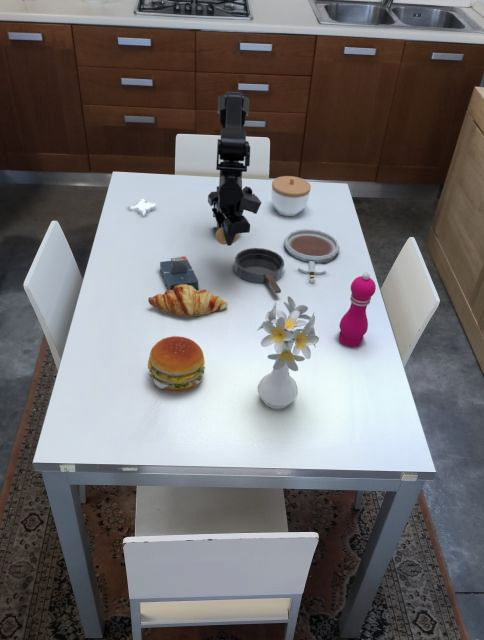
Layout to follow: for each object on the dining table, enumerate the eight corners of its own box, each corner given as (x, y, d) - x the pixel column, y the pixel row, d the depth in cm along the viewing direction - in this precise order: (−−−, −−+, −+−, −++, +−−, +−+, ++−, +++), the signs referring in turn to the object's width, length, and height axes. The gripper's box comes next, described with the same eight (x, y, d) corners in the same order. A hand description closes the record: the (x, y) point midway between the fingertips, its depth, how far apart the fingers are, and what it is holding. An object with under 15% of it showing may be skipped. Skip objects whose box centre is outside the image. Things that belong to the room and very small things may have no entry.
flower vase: (255, 431, 143) (267, 342, 125) (246, 376, 155) (255, 288, 137) (312, 430, 144) (332, 341, 126) (299, 375, 157) (315, 288, 138)
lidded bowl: (263, 214, 211) (267, 181, 203) (276, 198, 220) (280, 166, 212) (299, 223, 209) (304, 191, 201) (311, 207, 217) (316, 175, 209)
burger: (183, 404, 147) (183, 371, 140) (136, 381, 151) (134, 348, 144) (215, 373, 155) (217, 340, 148) (169, 352, 160) (169, 319, 152)
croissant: (225, 313, 178) (226, 284, 175) (229, 319, 168) (230, 288, 166) (148, 312, 175) (148, 282, 173) (148, 317, 166) (148, 285, 163)
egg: (213, 240, 178) (213, 225, 175) (235, 237, 180) (236, 223, 176) (217, 248, 175) (218, 233, 172) (240, 245, 177) (241, 230, 174)
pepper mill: (366, 335, 170) (384, 269, 155) (361, 351, 165) (379, 284, 150) (339, 328, 171) (355, 262, 157) (333, 344, 166) (349, 276, 152)
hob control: (159, 271, 184) (159, 261, 182) (187, 267, 186) (187, 258, 184) (169, 294, 177) (169, 284, 174) (198, 290, 179) (199, 281, 176)
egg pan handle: (264, 277, 181) (264, 274, 181) (270, 276, 182) (270, 273, 181) (274, 293, 176) (275, 290, 175) (280, 292, 176) (281, 290, 176)
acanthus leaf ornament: (142, 201, 212) (142, 196, 211) (158, 208, 210) (158, 203, 208) (127, 209, 208) (127, 204, 206) (143, 216, 205) (143, 211, 204)
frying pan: (283, 275, 183) (285, 225, 202) (282, 283, 185) (283, 233, 204) (342, 281, 183) (338, 230, 202) (340, 289, 185) (337, 238, 204)
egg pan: (228, 261, 190) (228, 250, 188) (272, 256, 194) (274, 245, 191) (243, 287, 181) (244, 277, 179) (289, 281, 185) (291, 271, 182)
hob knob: (172, 273, 178) (172, 260, 175) (171, 270, 179) (170, 257, 176) (186, 272, 179) (187, 258, 176) (185, 269, 180) (185, 255, 177)
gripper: (271, 200, 162) (265, 255, 173) (247, 168, 174) (243, 221, 185) (229, 204, 159) (226, 260, 170) (208, 171, 171) (206, 225, 182)
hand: (226, 241), depth 177 cm, fingers closed on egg, 4 cm apart
